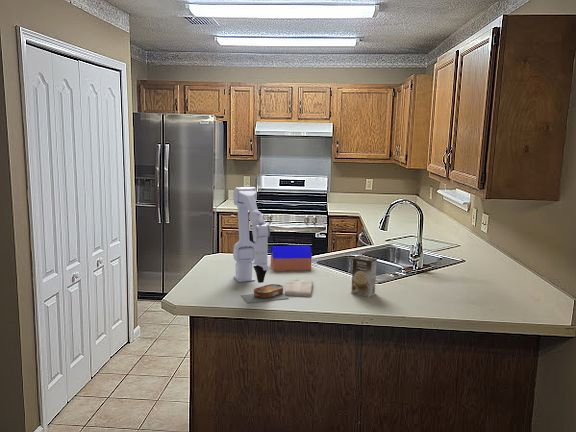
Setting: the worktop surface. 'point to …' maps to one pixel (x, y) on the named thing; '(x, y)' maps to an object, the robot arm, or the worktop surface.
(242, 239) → the robot arm
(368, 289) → the coffee box
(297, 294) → the washcloth
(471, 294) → the worktop surface
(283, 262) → the two-tone brick
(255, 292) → the tin
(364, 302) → the worktop surface
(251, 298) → the mat
